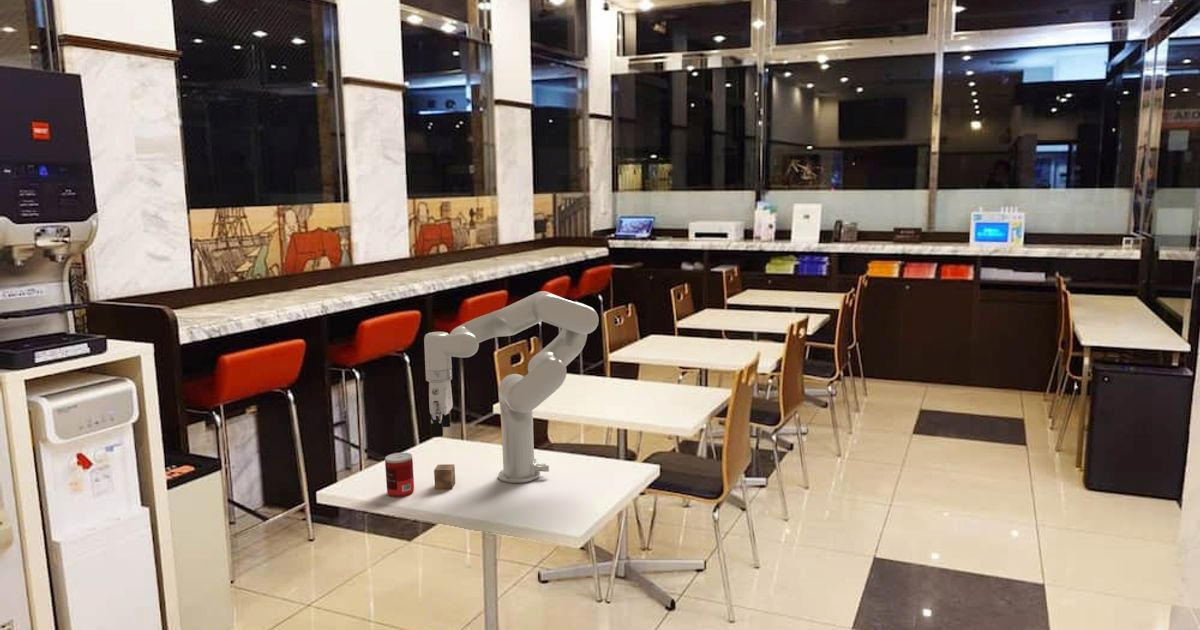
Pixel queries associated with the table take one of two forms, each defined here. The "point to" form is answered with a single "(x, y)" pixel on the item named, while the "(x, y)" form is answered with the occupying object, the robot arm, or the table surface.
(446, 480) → the walnut block
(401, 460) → the canned food
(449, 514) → the table surface
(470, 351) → the robot arm
